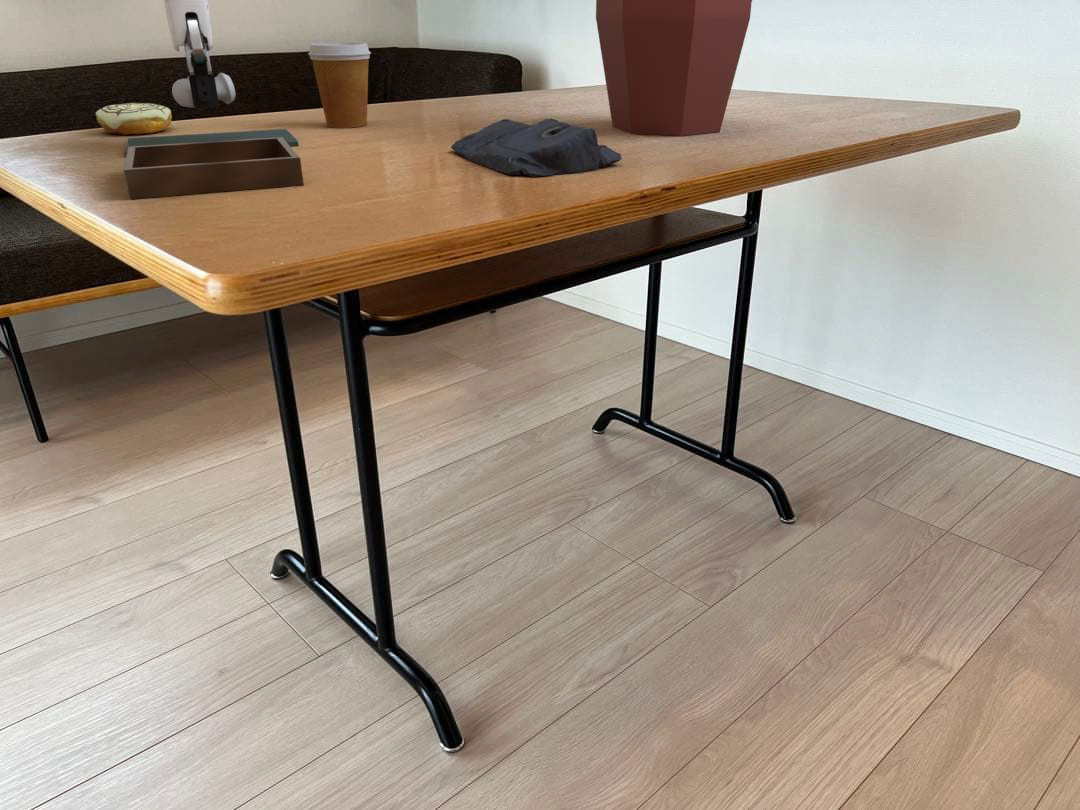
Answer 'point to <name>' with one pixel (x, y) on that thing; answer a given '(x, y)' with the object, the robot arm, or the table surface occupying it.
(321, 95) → the disposable coffee cup
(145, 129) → the decorated donut
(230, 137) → the mat
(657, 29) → the bucket
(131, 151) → the brown rectangular tray
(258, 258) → the table surface
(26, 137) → the table surface
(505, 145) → the dark folded cloth
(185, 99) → the smooth white sculpture
